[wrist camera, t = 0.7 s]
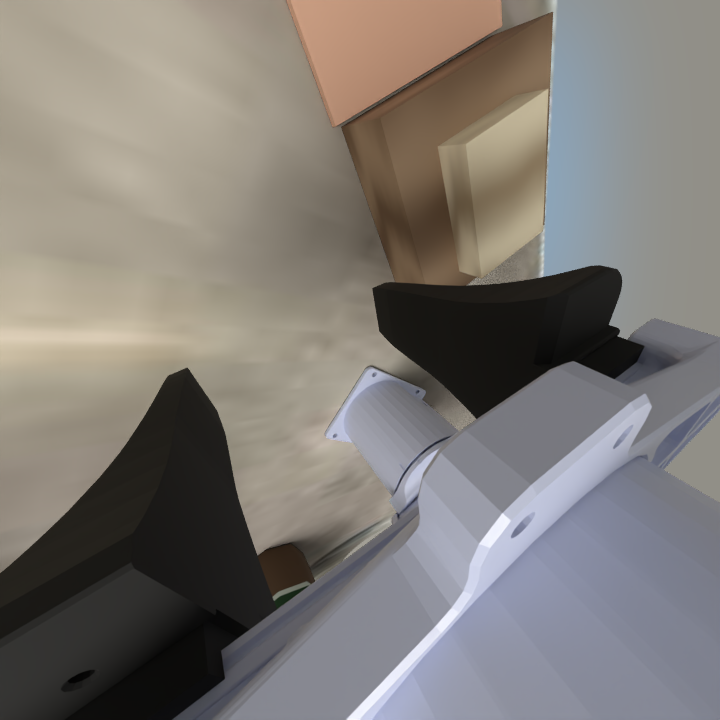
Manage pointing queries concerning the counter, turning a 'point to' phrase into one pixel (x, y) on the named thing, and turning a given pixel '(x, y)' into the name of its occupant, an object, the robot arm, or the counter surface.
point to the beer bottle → (285, 572)
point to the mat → (383, 43)
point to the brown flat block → (429, 130)
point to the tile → (497, 182)
